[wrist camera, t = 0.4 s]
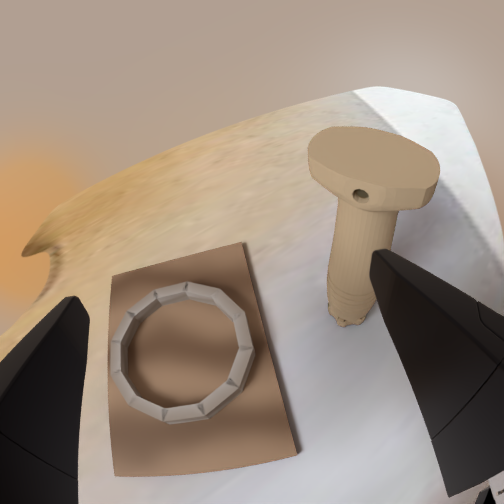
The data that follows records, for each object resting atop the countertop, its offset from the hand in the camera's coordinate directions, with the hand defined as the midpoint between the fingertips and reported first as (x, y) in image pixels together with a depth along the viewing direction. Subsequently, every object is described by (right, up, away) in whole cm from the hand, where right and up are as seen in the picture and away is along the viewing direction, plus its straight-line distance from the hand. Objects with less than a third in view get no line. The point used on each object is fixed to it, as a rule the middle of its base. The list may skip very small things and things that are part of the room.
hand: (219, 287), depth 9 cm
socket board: (-5, -7, +15) cm, 18 cm away
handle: (+9, -4, +16) cm, 19 cm away
